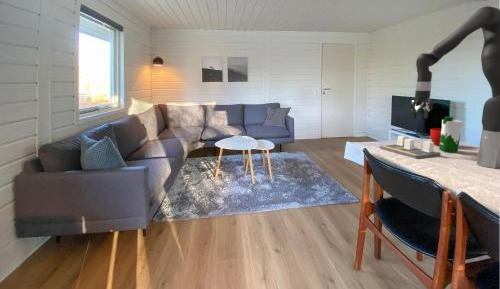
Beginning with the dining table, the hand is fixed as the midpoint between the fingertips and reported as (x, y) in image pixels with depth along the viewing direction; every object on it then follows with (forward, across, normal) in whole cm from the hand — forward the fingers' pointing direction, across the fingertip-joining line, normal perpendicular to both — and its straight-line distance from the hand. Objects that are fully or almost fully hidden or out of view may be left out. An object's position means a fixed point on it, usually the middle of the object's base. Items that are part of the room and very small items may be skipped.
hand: (420, 118), depth 169 cm
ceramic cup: (+19, +28, +5) cm, 34 cm away
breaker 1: (+17, -3, +8) cm, 19 cm away
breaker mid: (+17, -7, -1) cm, 19 cm away
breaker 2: (+17, -3, -10) cm, 20 cm away
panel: (+19, -7, -1) cm, 21 cm away
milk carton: (+20, +16, -8) cm, 26 cm away
